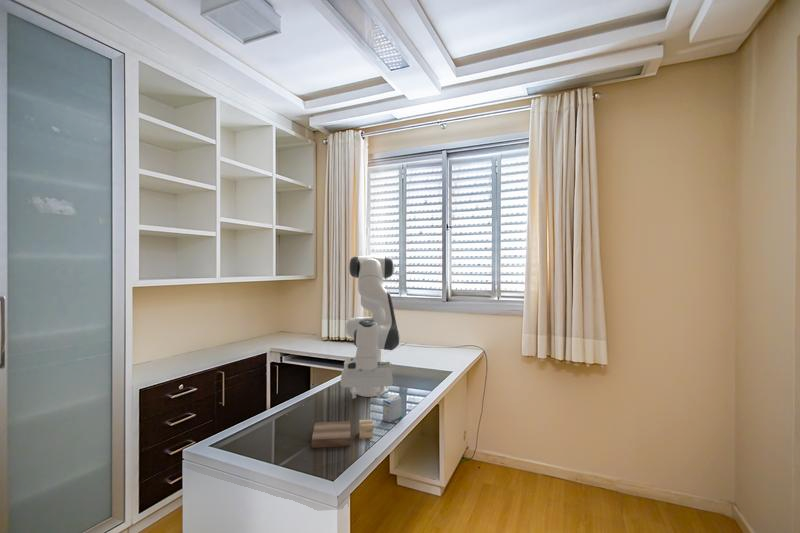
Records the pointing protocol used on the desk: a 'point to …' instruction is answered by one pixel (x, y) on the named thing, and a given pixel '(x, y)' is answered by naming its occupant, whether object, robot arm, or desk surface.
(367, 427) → the oak cube
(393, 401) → the medicine box
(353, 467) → the desk surface
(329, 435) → the block
